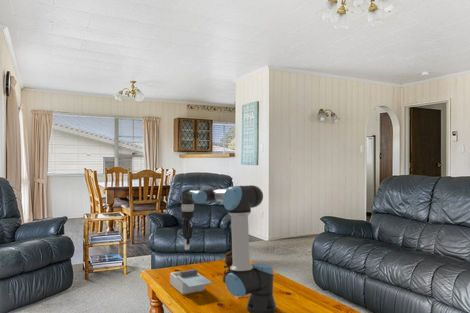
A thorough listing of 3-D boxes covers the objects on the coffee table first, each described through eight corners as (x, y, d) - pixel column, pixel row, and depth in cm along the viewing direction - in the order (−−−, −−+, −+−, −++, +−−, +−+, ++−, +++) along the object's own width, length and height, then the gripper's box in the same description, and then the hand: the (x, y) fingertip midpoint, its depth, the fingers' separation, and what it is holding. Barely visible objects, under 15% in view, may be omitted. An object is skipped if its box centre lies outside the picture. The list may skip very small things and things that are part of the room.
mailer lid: (212, 283, 205) (212, 277, 205) (189, 287, 198) (190, 281, 198) (197, 273, 222) (197, 267, 222) (176, 277, 215) (176, 271, 215)
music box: (231, 285, 223) (229, 252, 224) (218, 283, 230) (216, 251, 231) (246, 279, 235) (244, 248, 236) (232, 277, 242) (231, 246, 243)
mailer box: (204, 290, 214) (204, 278, 214) (182, 295, 206) (182, 282, 206) (190, 280, 231) (190, 269, 231) (169, 284, 224) (170, 273, 224)
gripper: (177, 209, 225) (177, 247, 224) (186, 212, 214) (185, 252, 213) (188, 209, 229) (188, 246, 228) (197, 211, 217) (197, 250, 217)
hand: (187, 249), depth 221 cm, fingers closed
